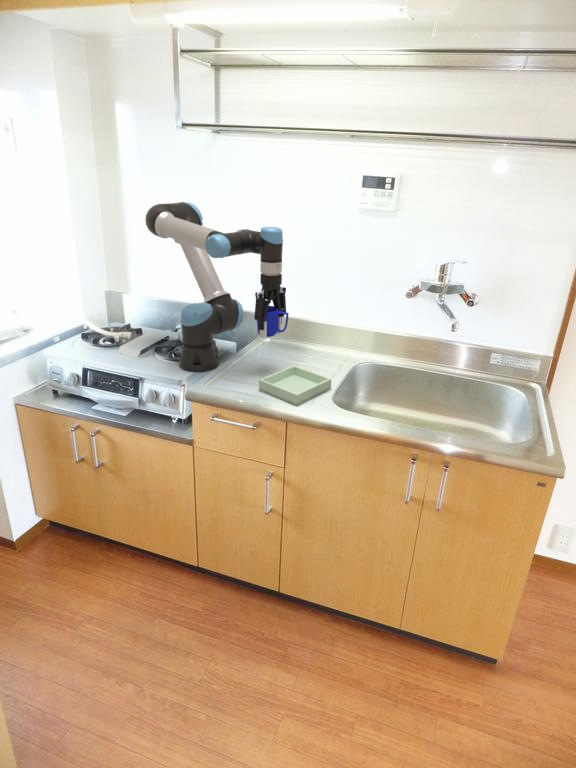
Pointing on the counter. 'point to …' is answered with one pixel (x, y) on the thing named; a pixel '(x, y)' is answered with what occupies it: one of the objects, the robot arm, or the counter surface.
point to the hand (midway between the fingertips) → (270, 335)
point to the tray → (295, 385)
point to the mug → (273, 321)
